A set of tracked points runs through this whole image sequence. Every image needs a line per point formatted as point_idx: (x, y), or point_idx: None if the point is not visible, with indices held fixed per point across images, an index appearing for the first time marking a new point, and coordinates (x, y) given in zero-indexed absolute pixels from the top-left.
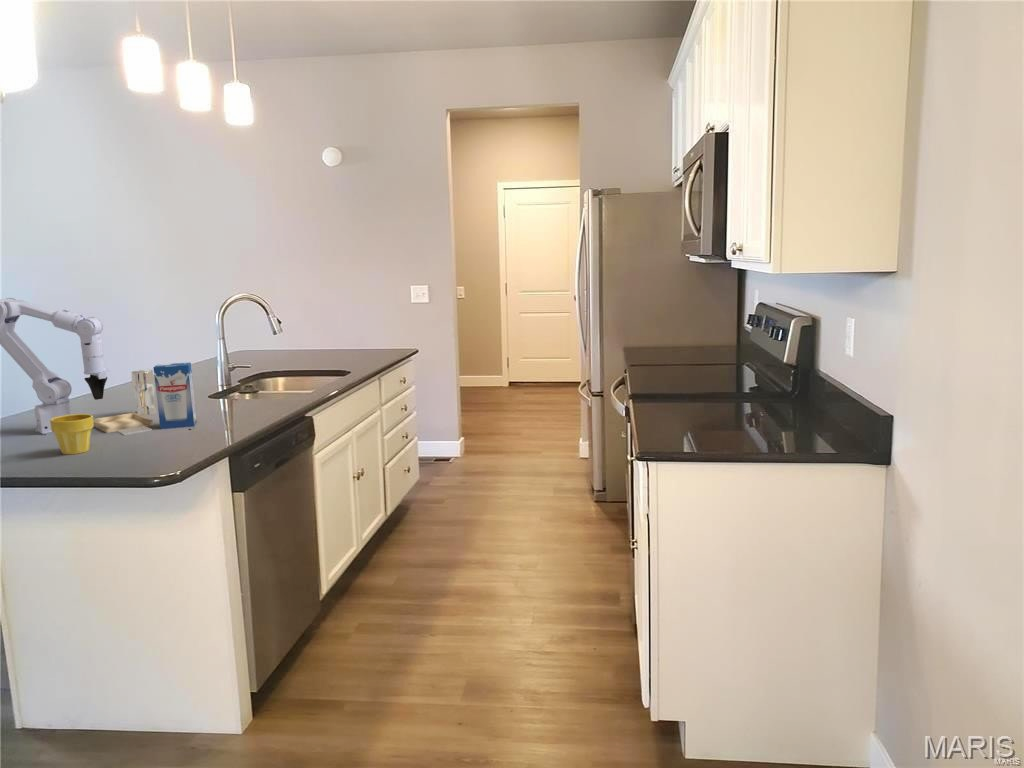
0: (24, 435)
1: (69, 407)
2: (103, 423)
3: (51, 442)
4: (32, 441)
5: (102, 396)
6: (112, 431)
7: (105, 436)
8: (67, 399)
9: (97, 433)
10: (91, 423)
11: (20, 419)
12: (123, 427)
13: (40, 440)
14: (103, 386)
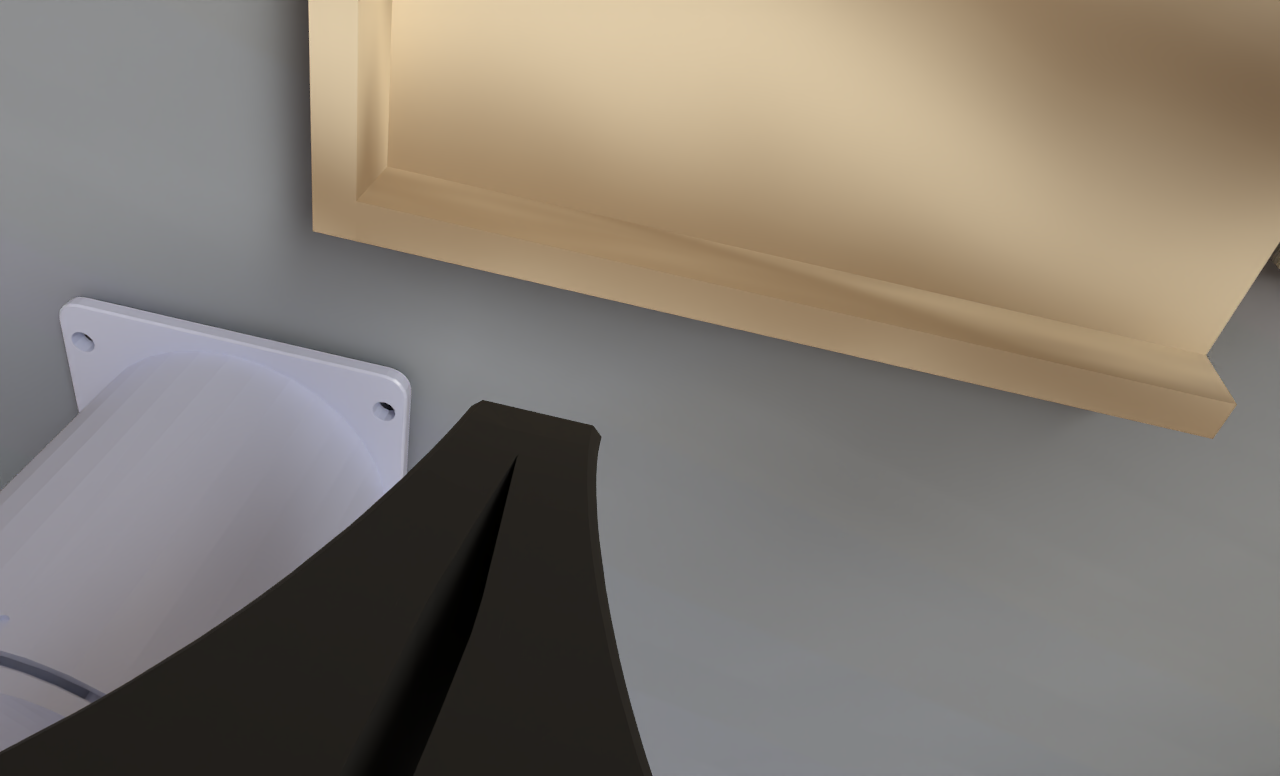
0: None
1: (160, 603)
2: (441, 43)
3: (823, 744)
4: None
5: (591, 471)
6: (1204, 305)
7: (1237, 427)
8: (33, 723)
9: (932, 377)
10: None
11: None
12: (1150, 46)
13: None
14: (640, 760)
